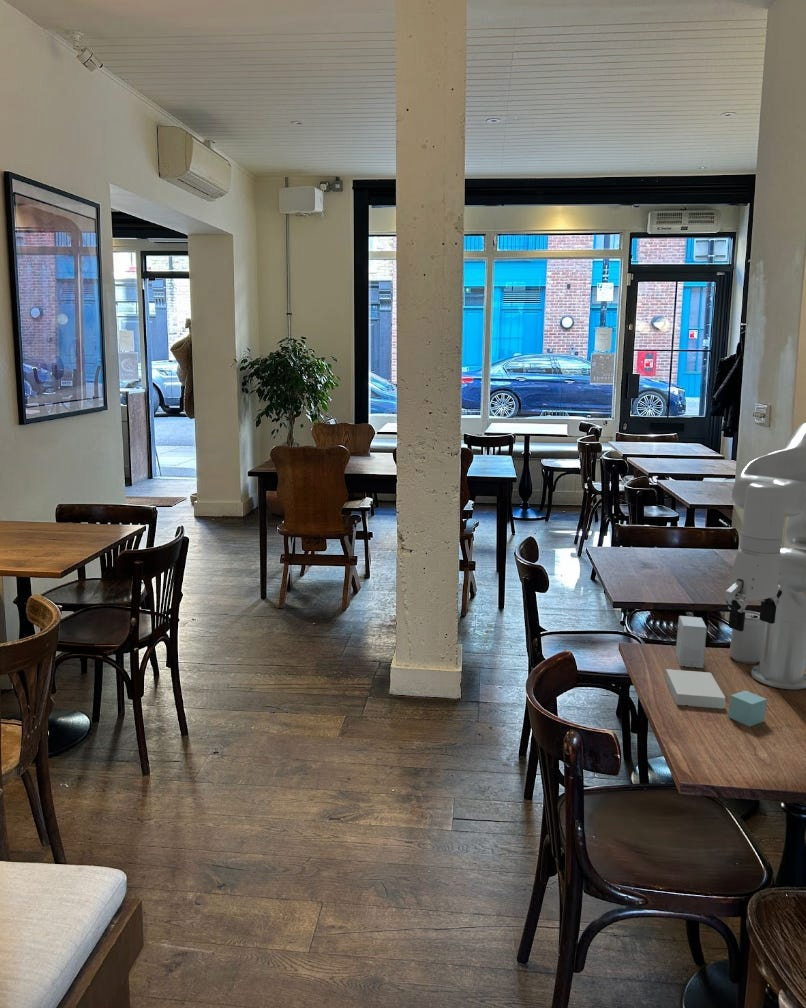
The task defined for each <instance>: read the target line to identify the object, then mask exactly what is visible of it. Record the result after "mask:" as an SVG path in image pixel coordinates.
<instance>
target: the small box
mask: <svg viewBox="0 0 806 1008" xmlns="http://www.w3.org/2000/svg"><path fill="white" fill-rule="evenodd" d="M677 624H678V625H677V633H676V634H677V635H676V643H675V658H676V660H677V662H678V665H679V667H683V666H685V667H686V668H695V667H696V668H698V669H703V668H704V662H705V652H706V643H707V642H706V641H707V640H706V639H707V631H708V627H707V625H706V624H705V621H704V620H703V618H702V617H697V616H685V615H679V616H678V622H677ZM685 667H684V668H685Z"/></svg>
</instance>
